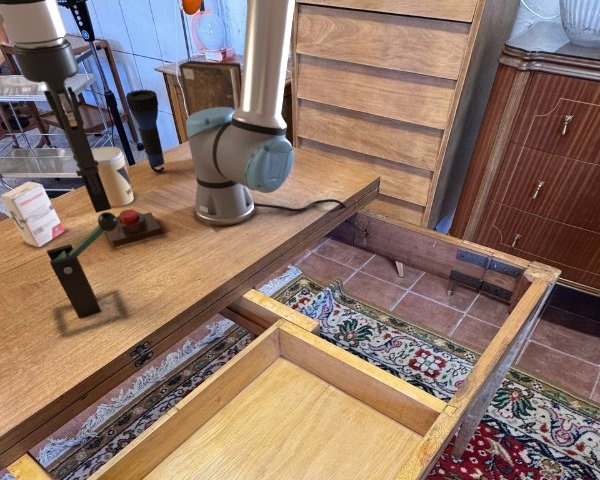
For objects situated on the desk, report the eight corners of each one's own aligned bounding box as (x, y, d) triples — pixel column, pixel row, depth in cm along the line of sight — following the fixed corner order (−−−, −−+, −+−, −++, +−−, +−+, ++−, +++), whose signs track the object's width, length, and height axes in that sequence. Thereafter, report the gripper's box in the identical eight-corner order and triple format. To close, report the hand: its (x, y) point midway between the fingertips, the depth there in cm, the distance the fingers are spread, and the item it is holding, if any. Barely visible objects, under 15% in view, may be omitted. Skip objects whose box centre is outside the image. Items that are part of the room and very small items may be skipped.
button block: (153, 220, 114) (148, 204, 111) (163, 236, 109) (158, 220, 106) (106, 232, 111) (100, 217, 108) (114, 249, 106) (108, 234, 103)
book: (194, 161, 136) (175, 63, 117) (206, 153, 140) (190, 56, 121) (240, 171, 131) (228, 69, 112) (252, 161, 135) (242, 62, 116)
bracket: (114, 292, 95) (89, 233, 84) (124, 316, 90) (99, 256, 79) (56, 310, 91) (23, 250, 81) (64, 336, 86) (29, 276, 76)
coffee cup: (137, 205, 119) (123, 158, 110) (102, 210, 118) (84, 163, 109) (136, 189, 125) (121, 143, 116) (102, 194, 124) (85, 148, 114)
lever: (119, 218, 82) (105, 204, 79) (124, 226, 80) (109, 213, 78) (66, 268, 84) (50, 256, 81) (69, 277, 82) (53, 266, 79)
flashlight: (179, 172, 132) (161, 93, 116) (156, 180, 128) (135, 101, 113) (164, 164, 136) (145, 87, 120) (142, 172, 132) (119, 94, 117)
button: (136, 214, 109) (133, 208, 107) (140, 222, 107) (138, 215, 105) (119, 219, 108) (117, 212, 106) (123, 226, 105) (121, 219, 104)
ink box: (51, 226, 113) (28, 179, 104) (65, 231, 112) (43, 183, 102) (24, 243, 108) (-3, 195, 99) (38, 248, 107) (12, 200, 98)
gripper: (5, 35, 63) (74, 199, 81) (15, 56, 55) (88, 231, 73) (60, 28, 65) (115, 189, 83) (76, 47, 57) (133, 219, 76)
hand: (102, 209), depth 78 cm, fingers closed
